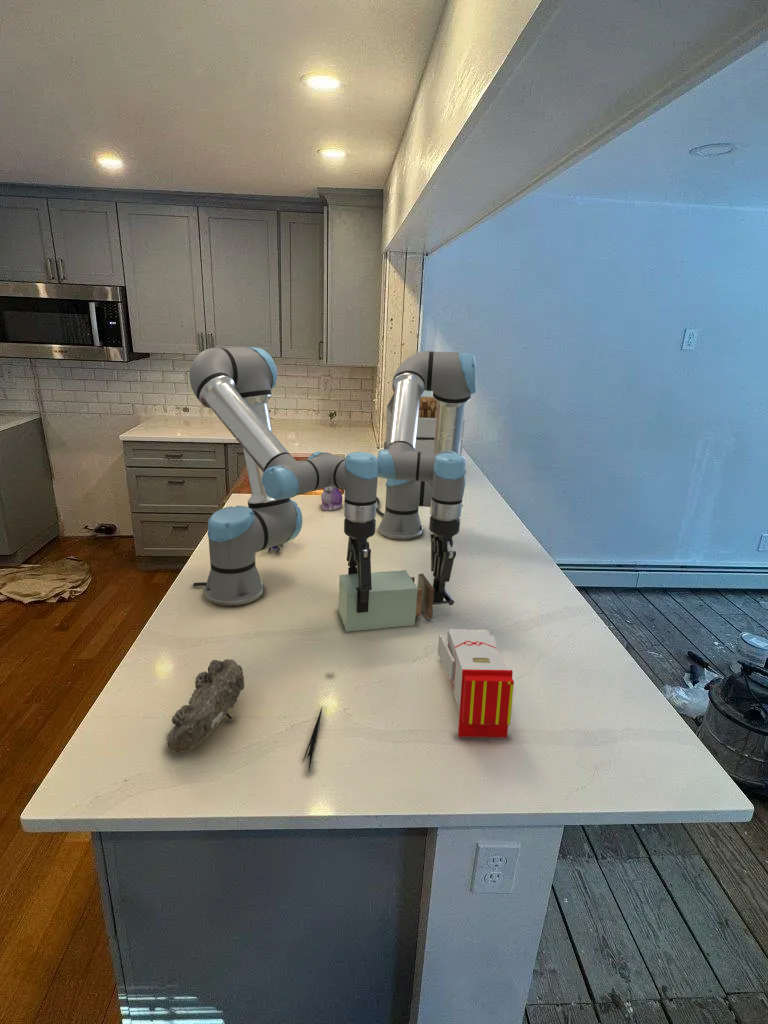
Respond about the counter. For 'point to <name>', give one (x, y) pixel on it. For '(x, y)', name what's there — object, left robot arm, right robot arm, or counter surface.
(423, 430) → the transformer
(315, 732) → the feather
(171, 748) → the fossil
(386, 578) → the sage green rectangular box
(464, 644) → the toy
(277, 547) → the figurine character
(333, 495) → the figurine
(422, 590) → the drawer
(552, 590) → the counter surface
